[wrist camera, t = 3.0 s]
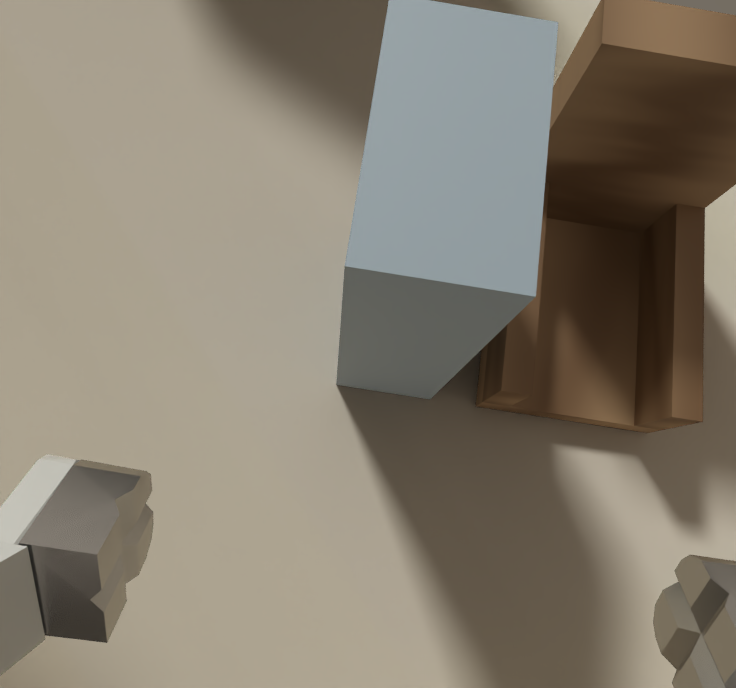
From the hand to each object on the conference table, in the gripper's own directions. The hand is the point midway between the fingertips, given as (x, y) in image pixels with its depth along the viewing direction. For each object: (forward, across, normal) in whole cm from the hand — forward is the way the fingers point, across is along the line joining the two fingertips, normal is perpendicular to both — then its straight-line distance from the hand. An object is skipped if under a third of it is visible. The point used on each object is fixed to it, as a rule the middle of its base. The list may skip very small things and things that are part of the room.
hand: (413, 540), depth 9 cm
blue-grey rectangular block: (+14, 0, +4) cm, 15 cm away
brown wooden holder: (+15, -7, +2) cm, 17 cm away
